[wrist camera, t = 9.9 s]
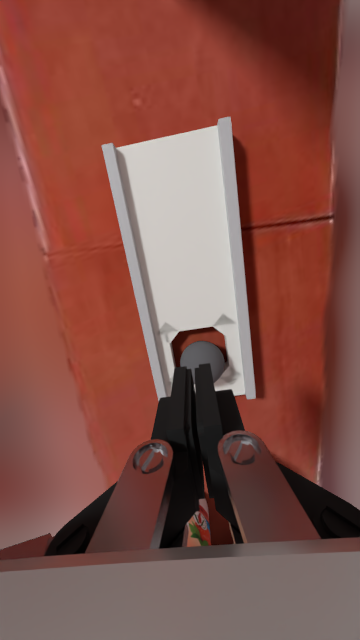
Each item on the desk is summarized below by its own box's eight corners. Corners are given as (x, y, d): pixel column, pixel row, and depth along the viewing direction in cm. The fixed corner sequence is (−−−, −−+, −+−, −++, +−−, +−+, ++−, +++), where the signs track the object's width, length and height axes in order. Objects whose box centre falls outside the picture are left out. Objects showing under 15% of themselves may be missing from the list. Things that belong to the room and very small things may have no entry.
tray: (108, 157, 23) (98, 145, 20) (228, 131, 22) (233, 115, 19) (160, 397, 30) (158, 409, 28) (252, 386, 29) (257, 398, 27)
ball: (185, 381, 28) (177, 342, 28) (224, 375, 28) (217, 335, 28) (183, 395, 23) (175, 348, 23) (231, 388, 23) (223, 340, 23)
